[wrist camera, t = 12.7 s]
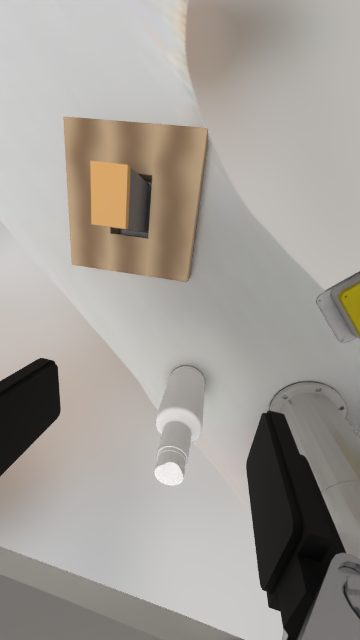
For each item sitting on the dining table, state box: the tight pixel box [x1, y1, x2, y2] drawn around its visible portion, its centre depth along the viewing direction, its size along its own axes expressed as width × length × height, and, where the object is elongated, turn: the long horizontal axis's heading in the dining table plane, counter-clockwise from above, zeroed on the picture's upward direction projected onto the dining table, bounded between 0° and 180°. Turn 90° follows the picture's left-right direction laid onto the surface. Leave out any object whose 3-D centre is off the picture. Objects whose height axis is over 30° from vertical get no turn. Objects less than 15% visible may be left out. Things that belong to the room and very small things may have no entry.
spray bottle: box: [155, 366, 205, 485], centre depth 33 cm, size 7×7×18 cm
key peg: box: [90, 161, 152, 233], centre depth 27 cm, size 4×6×10 cm, turn 173°
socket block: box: [63, 117, 208, 282], centre depth 30 cm, size 18×18×4 cm
